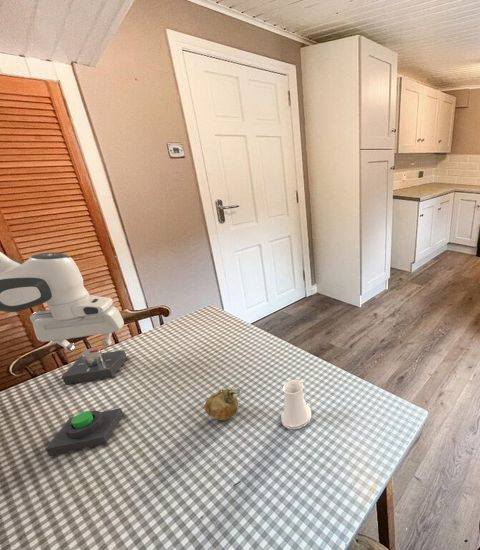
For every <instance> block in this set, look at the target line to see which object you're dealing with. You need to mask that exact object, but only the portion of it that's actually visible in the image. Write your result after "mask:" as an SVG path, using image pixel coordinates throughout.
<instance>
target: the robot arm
mask: <svg viewBox="0 0 480 550" xmlns="http://www.w3.org/2000/svg"><path fill="white" fill-rule="evenodd" d="M44 303H46V305H47V307H48V309H45V310H36V311H34V312H32V313H31V314H30V316H29V320H30V321H31V323H32V326H33V330H34V331H33V332H34V334H35V337H36V339H37V341H39V342H42V343H47V342H48V343H49V342H56V344H57V345H59V346H61V347H63V348H64V351H65V352H73V351H74V350H75V349H76V345H75V343H74V342H69V339H75V338H84V337H89V336H97V335H103V337H104V338H103V340H101V344H102V346H103V347H107V346H110V345H112V342H113V341H112V335H113V333H118V332H119V331H121V330H122V328H124V325H125V321H124V319H123V316H122V315H121V312H120V310H119V309H118V308H117V307H116V306H115V305H113V304H114V301H113V298H111V297H108V296H107V297H106V296H99V295H93V294H90V293H89V291H88V290H87V289H86V287H85V285H84V278H83V275H82V273H81V271H80V268H79V266H78V265H77V264H76V262H75V260H74V259H73V258H72V257H71V256H70V255H68V254H66V253H62V252H41V253H36V254H32V255H31V256H29V258H28V259H27V260H26V261H24V262H22V261H19V260H17V259H14V258H12V257H10V256H9V255H7V254H5V253H4V252H2V251H1V250H0V312H4V313H17V312H23V311H26V310H28V309H32V308H34V307H37V306H39V305H42V304H44ZM67 339H68V340H67Z"/></svg>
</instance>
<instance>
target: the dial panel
mask: <svg viewBox="0 0 480 550" xmlns="http://www.w3.org/2000/svg"><path fill="white" fill-rule="evenodd" d="M101 353H102V356H103V358H104V360H103V362H101V363H100V364H98V365H95V366H91V367H87V366H86V365H85V363H84V361H83V359H82V356H81V355H80V356H79V358H78V359H77V360H75V362H74V363H73V364H72V365H71V366H70V367H69V368H68V369H67V370H66V371H65V372H64V373H63V374H62V375H61V379H62V381H63V383H64V385H65V386H66V385H71V384H72V385H73V384H79V383H83V382H90V381H96V380H102V379H109V378H114V377H115V375H116V374H117V373H118V371H119V370H120V368H121V367H122V365H123V364H124V363H125V361H126V360H127V358H128V356H127V353H126V350H125V349H120V350H115V351H107V352H101Z"/></svg>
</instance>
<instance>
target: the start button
mask: <svg viewBox="0 0 480 550" xmlns="http://www.w3.org/2000/svg"><path fill="white" fill-rule="evenodd" d="M90 411H91V410H87V411H82V412H80V413H79V412H78V414H76V415H75V416H72V417H73V419H72V420H71V423H72V425H73V427H74V428H75V429H79V428H82V427H84V426H87V425H88V424H90V423H91V422H92V421H93V419H94V418H93V416H92V413H91V412H90Z"/></svg>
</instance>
